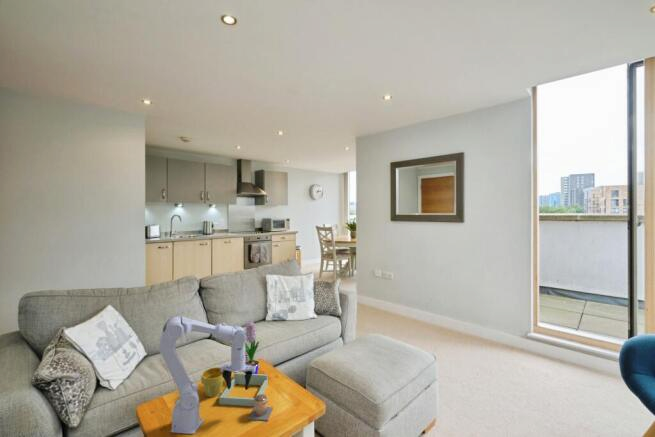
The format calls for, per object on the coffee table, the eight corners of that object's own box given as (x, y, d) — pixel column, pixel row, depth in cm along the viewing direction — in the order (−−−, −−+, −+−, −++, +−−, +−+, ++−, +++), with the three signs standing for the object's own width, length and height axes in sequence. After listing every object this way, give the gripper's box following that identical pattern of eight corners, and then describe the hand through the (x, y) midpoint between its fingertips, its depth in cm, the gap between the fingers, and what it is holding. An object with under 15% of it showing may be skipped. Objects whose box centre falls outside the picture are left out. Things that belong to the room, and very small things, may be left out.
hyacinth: (262, 371, 159) (263, 316, 159) (256, 382, 149) (256, 323, 149) (247, 370, 160) (247, 315, 160) (239, 381, 150) (239, 322, 150)
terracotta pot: (251, 413, 125) (251, 399, 125) (260, 405, 130) (260, 392, 130) (261, 418, 122) (261, 404, 122) (270, 410, 127) (270, 396, 127)
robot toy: (196, 398, 137) (196, 393, 137) (185, 416, 125) (185, 410, 125) (180, 399, 136) (180, 393, 136) (167, 416, 124) (167, 410, 124)
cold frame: (219, 404, 132) (219, 393, 132) (234, 382, 149) (234, 372, 149) (256, 406, 130) (256, 395, 130) (267, 384, 147) (267, 374, 147)
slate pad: (248, 419, 122) (248, 418, 122) (255, 407, 130) (255, 406, 130) (267, 421, 121) (267, 419, 121) (272, 408, 129) (272, 407, 129)
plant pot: (219, 400, 135) (219, 378, 134) (197, 399, 135) (197, 378, 135) (228, 387, 145) (228, 367, 145) (207, 386, 145) (207, 366, 145)
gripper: (217, 360, 123) (217, 393, 123) (252, 361, 122) (252, 394, 122) (224, 352, 130) (224, 383, 130) (257, 353, 129) (257, 384, 129)
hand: (238, 388), depth 126 cm, fingers open, 7 cm apart
